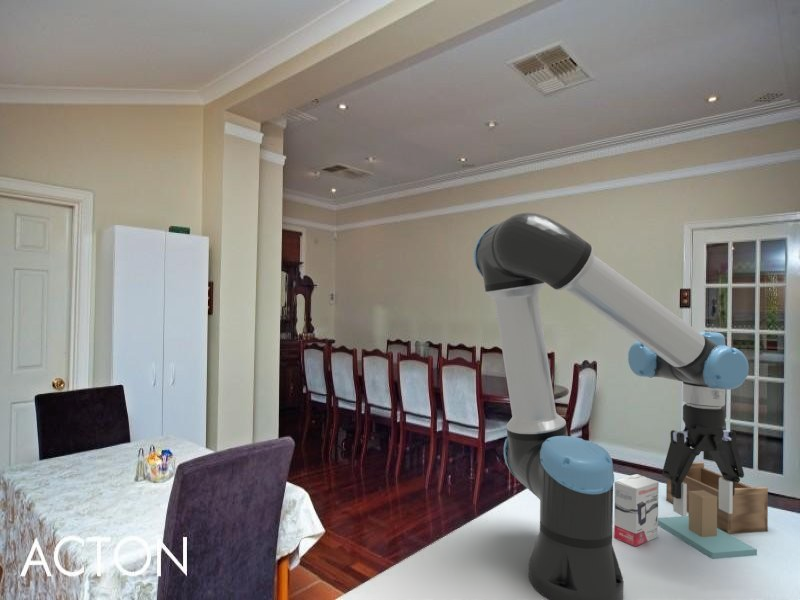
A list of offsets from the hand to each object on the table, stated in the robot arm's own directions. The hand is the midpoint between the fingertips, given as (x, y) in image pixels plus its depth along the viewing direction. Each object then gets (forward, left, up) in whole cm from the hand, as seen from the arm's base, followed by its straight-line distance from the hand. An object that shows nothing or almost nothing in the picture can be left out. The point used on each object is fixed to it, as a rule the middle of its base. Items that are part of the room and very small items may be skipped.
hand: (702, 512), depth 99 cm
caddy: (+12, +10, -5) cm, 16 cm away
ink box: (-14, +2, -6) cm, 15 cm away
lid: (0, 0, -6) cm, 6 cm away
